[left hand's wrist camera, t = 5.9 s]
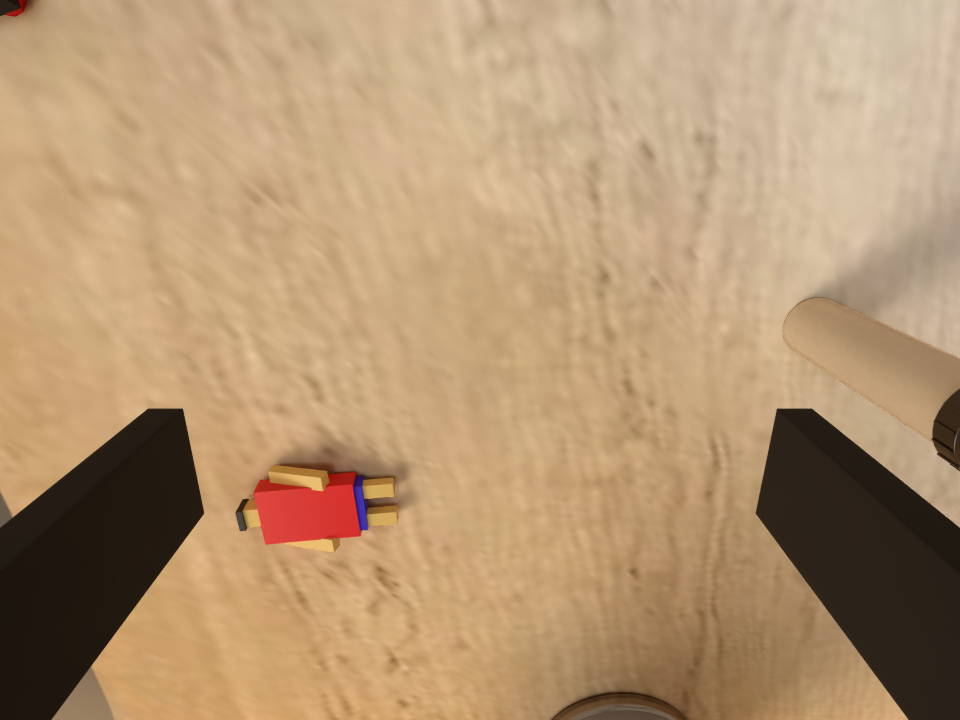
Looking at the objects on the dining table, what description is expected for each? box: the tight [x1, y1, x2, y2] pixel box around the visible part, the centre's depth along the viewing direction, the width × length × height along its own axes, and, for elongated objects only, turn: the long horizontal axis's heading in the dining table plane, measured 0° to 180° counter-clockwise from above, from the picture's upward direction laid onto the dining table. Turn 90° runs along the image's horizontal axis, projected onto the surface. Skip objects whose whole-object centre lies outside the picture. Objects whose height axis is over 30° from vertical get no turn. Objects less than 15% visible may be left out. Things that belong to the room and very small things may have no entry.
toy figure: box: [236, 465, 398, 552], centre depth 45 cm, size 2×7×12 cm
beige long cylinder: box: [783, 297, 960, 443], centre depth 33 cm, size 4×4×16 cm
